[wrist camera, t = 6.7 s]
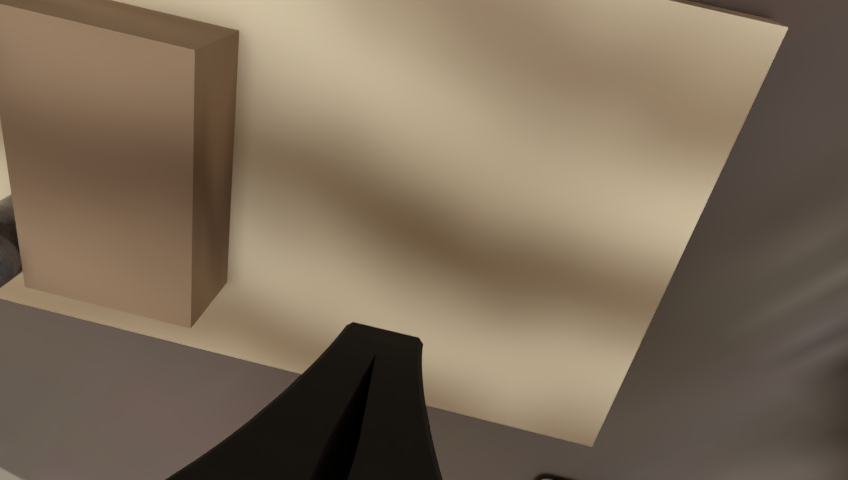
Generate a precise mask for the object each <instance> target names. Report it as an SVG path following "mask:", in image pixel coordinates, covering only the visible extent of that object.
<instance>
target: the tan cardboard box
mask: <svg viewBox="0 0 848 480" xmlns="http://www.w3.org/2000/svg"><path fill="white" fill-rule="evenodd" d="M238 45H239V30H235V29H231V28H226V27H222V26H218V25H214V24H209V23H205V22H201V21H197V20H193V19H188V18H184V17H180V16H176V15H171V14H167V13H163V12H159V11H155V10H150V9H146V8H142V7H138V6H133V5H129V4H125V3H121V2H117V1H112V0H0V119H1V126H2V133H3V140H4V147H5V154H6V161H7V167H8V174H9V181H10V188H11V195H12V202H13V209H14V215H15V222H16V229H17V236H18V243H19V250H20V257H21V263H22V270H23V277H24V284H25V287H27V288H31V289H35V290H39V291H43V292H47V293H51V294H55V295H59V296H63V297H67V298H71V299H75V300H79V301H83V302H87V303H91V304H95V305H99V306H103V307H107V308H111V309H115V310H119V311H123V312H127V313H131V314H135V315H139V316H143V317H147V318H151V319H155V320H159V321H163V322H167V323H171V324H175V325H178V326H182V327H186V328H190V329H191V328H192V326H193V325H194V324H195V323H196V321H197V320H198V319H199V318H200V316H201V315H202V314H203V312H204V311H205V310H206V309H207V307H208V306H209V305H210V304H211V302H212V301H213V300H214V298H215V297H216V296H217V295H218V293H219V292H220V291H221V290H222V288H223V287H224V286H225V285H226V283H227V272H228V251H229V231H230V210H231V190H232V169H233V148H234V128H235V107H236V86H237V66H238Z"/></svg>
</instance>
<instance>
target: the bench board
mask: <svg viewBox="0 0 848 480" xmlns="http://www.w3.org/2000/svg"><path fill="white" fill-rule="evenodd" d="M112 1H117V2H121V3H125V4H129V5H133V6H138V7H142V8H146V9H150V10H155V11H159V12H163V13H167V14H171V15H176V16H180V17H184V18H188V19H193V20H197V21H201V22H205V23H209V24H214V25H218V26H222V27H226V28H231V29H235V30H239V45H238V66H237V86H236V107H235V128H234V148H233V169H232V190H231V210H230V231H229V251H228V272H227V283H226V285H225V286H224V287H223V288H222V290H221V291H220V292H219V293H218V295H217V296H216V297H215V298H214V300H213V301H212V302H211V304H210V305H209V306H208V307H207V309H206V310H205V311H204V312H203V314H202V315H201V316H200V318H199V319H198V320H197V321H196V323H195V324H194V325H193V326H192V328H191V329H190V328H186V327H182V326H178V325H175V324H171V323H167V322H163V321H159V320H155V319H151V318H147V317H143V316H139V315H135V314H131V313H127V312H123V311H119V310H115V309H111V308H107V307H103V306H99V305H95V304H91V303H87V302H83V301H79V300H75V299H71V298H67V297H63V296H59V295H55V294H51V293H47V292H43V291H39V290H35V289H31V288H27V287H25V284H24V277H23V272H22V273H20V274H19V275H17V276H16V277H15V278H13V279H12V280H11V281H9V282H8V283H7V284H5V285H4V286H2V287H1V288H0V299H4V300H8V301H12V302H16V303H20V304H24V305H28V306H32V307H36V308H40V309H44V310H48V311H52V312H56V313H60V314H64V315H68V316H72V317H76V318H80V319H84V320H88V321H92V322H96V323H100V324H104V325H108V326H111V327H115V328H119V329H123V330H127V331H131V332H135V333H139V334H143V335H147V336H151V337H155V338H159V339H163V340H167V341H171V342H175V343H179V344H183V345H187V346H191V347H195V348H199V349H203V350H207V351H211V352H215V353H219V354H223V355H227V356H231V357H235V358H239V359H243V360H247V361H251V362H255V363H259V364H263V365H267V366H271V367H275V368H279V369H283V370H287V371H291V372H295V373H299V374H303V373H304V372H305V371H306V370H307V369H308V368H309V367H310V366H311V365H312V364H313V363H314V362H315V361H316V360H317V359H318V358H319V356H320V355H321V354H322V353H323V352H324V351H325V350H326V349H327V348H328V347H329V346H330V345H331V343H332V342H333V341H334V340H335V339H336V338H337V336H338V335H339V334H340V333H341V332H342V330H343V329H344V328H345V326H346V325H348V324H350V323H352V322H355V323H360V324H364V325H368V326H372V327H376V328H381V329H385V330H389V331H393V332H397V333H402V334H406V335H410V336H414V337H419V339H420V340H421V342H422V343H423V349H422V377H423V388H424V396H425V403H426V405H427V406H431V407H435V408H439V409H443V410H447V411H451V412H455V413H459V414H463V415H467V416H471V417H475V418H479V419H483V420H487V421H491V422H495V423H499V424H503V425H507V426H511V427H515V428H519V429H523V430H527V431H531V432H535V433H539V434H543V435H546V436H550V437H554V438H558V439H562V440H566V441H570V442H574V443H578V444H582V445H586V446H590V447H592V446H593V444H594V441H595V439H596V437H597V435H598V433H599V431H600V429H601V426H602V424H603V422H604V420H605V418H606V416H607V414H608V412H609V409H610V407H611V405H612V403H613V401H614V399H615V397H616V394H617V392H618V390H619V388H620V386H621V384H622V382H623V380H624V377H625V375H626V373H627V371H628V369H629V367H630V365H631V362H632V360H633V358H634V356H635V354H636V352H637V350H638V348H639V345H640V343H641V341H642V339H643V337H644V335H645V333H646V330H647V328H648V326H649V324H650V322H651V320H652V318H653V316H654V313H655V311H656V309H657V307H658V305H659V303H660V301H661V298H662V296H663V294H664V292H665V290H666V288H667V286H668V283H669V281H670V279H671V277H672V275H673V273H674V271H675V269H676V266H677V264H678V262H679V260H680V258H681V256H682V254H683V251H684V249H685V247H686V245H687V243H688V241H689V239H690V237H691V234H692V232H693V230H694V228H695V226H696V224H697V222H698V219H699V217H700V215H701V213H702V211H703V209H704V207H705V205H706V202H707V200H708V198H709V196H710V194H711V192H712V190H713V187H714V185H715V183H716V181H717V179H718V177H719V175H720V172H721V170H722V168H723V166H724V164H725V162H726V160H727V158H728V155H729V153H730V151H731V149H732V147H733V145H734V143H735V140H736V138H737V136H738V134H739V132H740V130H741V128H742V126H743V123H744V121H745V119H746V117H747V115H748V113H749V111H750V108H751V106H752V104H753V102H754V100H755V98H756V96H757V94H758V91H759V89H760V87H761V85H762V83H763V81H764V79H765V76H766V74H767V72H768V70H769V68H770V66H771V64H772V61H773V59H774V57H775V55H776V53H777V51H778V49H779V47H780V44H781V42H782V40H783V38H784V36H785V34H786V32H787V29H788V27H786V26H784V25H782V24H780V23H778V22H776V21H773V20H771V19H768V18H763V17H759V16H755V15H750V14H746V13H741V12H737V11H733V10H728V9H724V8H720V7H715V6H711V5H706V4H702V3H698V2H693V1H689V0H112ZM9 195H11V188H10V181H9V174H8V167H7V161H6V154H5V147H4V140H3V133H2V126H1V119H0V200H2V199H3V198H5V197H7V196H9Z"/></svg>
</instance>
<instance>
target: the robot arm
mask: <svg viewBox="0 0 848 480" xmlns="http://www.w3.org/2000/svg"><path fill="white" fill-rule="evenodd" d="M422 349H423V343H422V342H421V340H420V339H419V337H414V336H410V335H406V334H402V333H397V332H393V331H389V330H385V329H381V328H376V327H372V326H368V325H364V324H360V323H355V322H352V323H350V324H348V325H346V326H345V328H344V329H343V330H342V332H341V333H340V334H339V335H338V336H337V338H336V339H335V340H334V341H333V342H332V343H331V345H330V346H329V347H328V348H327V349H326V350H325V351H324V352H323V353H322V354H321V355H320V356H319V358H318V359H317V360H316V361H315V362H314V363H313V364H312V365H311V366H310V367H309V368H308V369H307V370H306V371H305V372H304V373H303V374H301V375H300V376H299V377H298V378H297V379H296V380H295V381H294V382H293V383H292V384H291V385H290V386H289V387H288V388H287V389H286V390H285V391H284V392H282V393H281V394H280V395H279V396H278V397H277V398H276V399H274V400H273V401H272V402H271V403H270V404H268V405H267V406H266V407H265V408H264V409H263V410H261V411H260V412H259V413H258V414H257V415H255V416H254V417H253V418H252V419H251V420H250V421H248V422H247V423H246V424H245V425H243V426H242V427H241V428H239V429H238V430H237V431H235V432H234V433H233V434H232V435H230V436H229V437H228V438H226V439H225V440H224V441H222V442H221V443H219V444H218V445H217V446H215V447H214V448H212V449H211V450H209V451H208V452H207V453H205V454H204V455H202V456H201V457H200V458H198V459H197V460H195V461H194V462H192V463H190V464H189V465H187V466H186V467H184V468H183V469H181V470H180V471H178V472H176V473H175V474H173V475H172V476H170V477H169V478H167V479H166V480H442V476H441V473H440V469H439V465H438V461H437V457H436V453H435V449H434V445H433V441H432V436H431V431H430V426H429V420H428V415H427V409H426V403H425V396H424V388H423V377H422ZM541 480H551V479H541Z"/></svg>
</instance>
